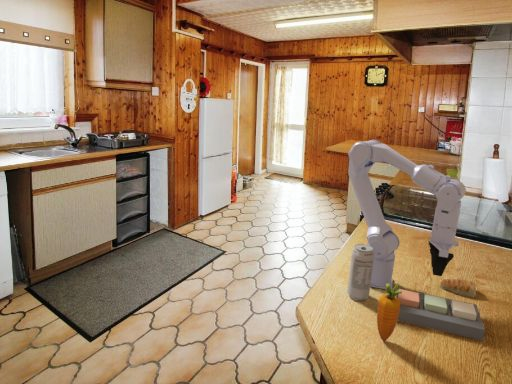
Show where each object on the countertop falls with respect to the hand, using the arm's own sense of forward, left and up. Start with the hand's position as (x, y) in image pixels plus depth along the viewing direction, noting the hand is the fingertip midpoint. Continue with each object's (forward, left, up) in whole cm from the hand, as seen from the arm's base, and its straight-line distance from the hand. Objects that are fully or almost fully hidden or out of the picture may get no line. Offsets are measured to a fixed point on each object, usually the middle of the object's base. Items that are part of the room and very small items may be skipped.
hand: (436, 271), depth 101 cm
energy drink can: (-19, -6, -10) cm, 23 cm away
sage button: (0, -8, -8) cm, 11 cm away
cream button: (+6, -8, -8) cm, 13 cm away
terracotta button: (-7, -8, -8) cm, 13 cm away
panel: (0, -8, -9) cm, 12 cm away
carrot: (-11, -24, -10) cm, 28 cm away
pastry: (+9, +11, -10) cm, 17 cm away
